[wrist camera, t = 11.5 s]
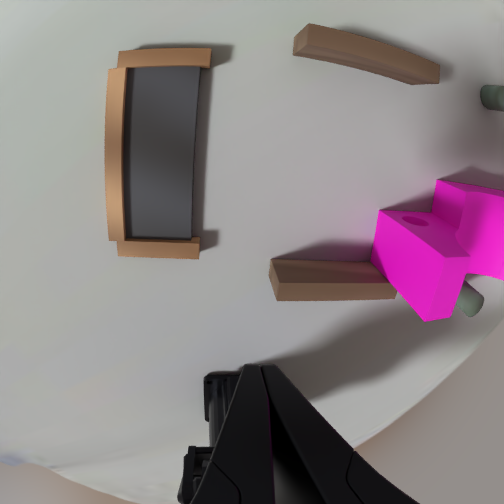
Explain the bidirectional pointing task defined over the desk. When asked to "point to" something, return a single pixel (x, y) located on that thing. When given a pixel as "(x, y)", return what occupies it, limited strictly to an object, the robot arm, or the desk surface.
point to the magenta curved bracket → (441, 246)
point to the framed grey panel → (183, 147)
